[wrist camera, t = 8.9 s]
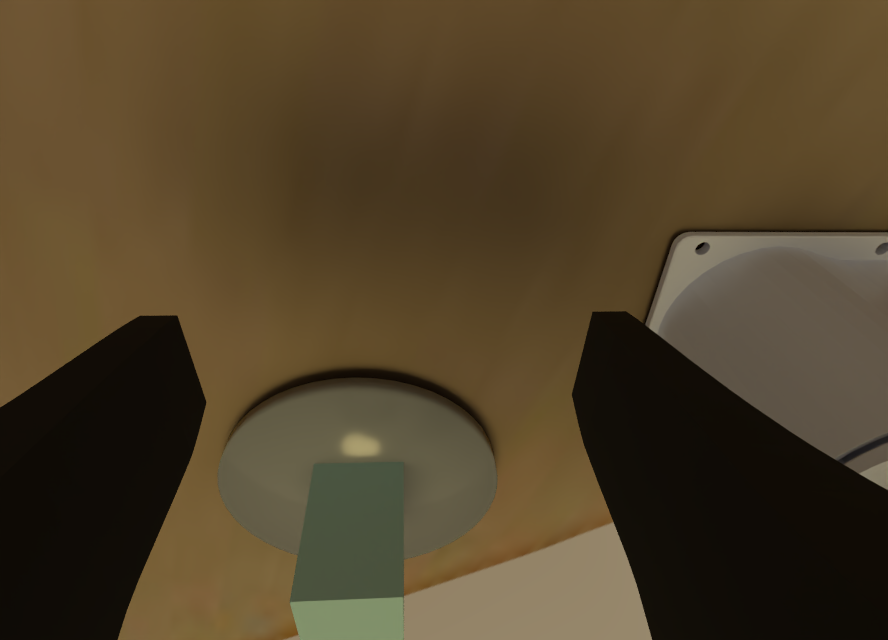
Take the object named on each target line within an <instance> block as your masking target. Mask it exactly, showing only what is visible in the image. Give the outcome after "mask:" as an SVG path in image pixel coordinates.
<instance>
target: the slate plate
mask: <svg viewBox="0 0 888 640" xmlns="http://www.w3.org/2000/svg"><path fill="white" fill-rule="evenodd" d="M366 462H404V559H408V558H412V557H416V556H419V555H423V554H426V553H429V552H431V551H434V550H436V549H439V548H441V547H443V546H445V545H447V544H449V543H451V542H453V541H455V540H456V539H458V538H459V537H461V536H463V535H464V534H465V533H467V532H468V531H469V530H470V529H472V528H473V527H474V526H475V525H476V524H477V523H478V522H479V521H480V520H481V519H482V518H483V516H484V515H485V513H486V512H487V511H488V509H489V508H490V506H491V503H492V501H493V499H494V496H495V493H496V489H497V471H496V465H495V459H494V453H493V449H492V446H491V444H490V441H489V438H488V437H487V435H486V434H485V432H484V430H483V429H482V427H481V426H480V425H479V424H478V423H477V422H476V420H475V419H474V418H473V417H472V416H471V415H469V414H468V413H467V412H466V411H465V410H463V409H462V408H461V407H460V406H458V405H456V404H455V403H453V402H452V401H450V400H448V399H447V398H445V397H442V396H440V395H438V394H436V393H434V392H432V391H429V390H426V389H423V388H420V387H418V386H415V385H411V384H407V383H402V382H398V381H393V380H385V379H377V378H355V377H353V378H338V379H329V380H323V381H317V382H311V383H308V384H304V385H301V386H297V387H293V388H291V389H288V390H286V391H283V392H281V393H278V394H276V395H274V396H273V397H271V398H269V399H267V400H265V401H263V402H262V403H260V404H259V405H258V406H256V407H255V408H254V409H252V410H251V411H249V412H248V413H247V414H246V415H245V416H244V417H243V418H242V419H241V420H240V421H239V422H238V424H237V425H236V427H235V428H234V430H233V431H232V433H231V434H230V436H229V439H228V441H227V444H226V446H225V449H224V452H223V454H222V457H221V460H220V464H219V469H218V487H219V491H220V495H221V498H222V500H223V502H224V504H225V506H226V508H227V509H228V510H229V512H230V513H231V515H232V516H233V517H234V518H235V519H236V520H237V521H238V522H239V523H240V525H241V526H242V527H244V528H245V529H246V530H248V531H249V532H250V533H251V534H253V535H254V536H256V537H257V538H259V539H261V540H262V541H264V542H266V543H268V544H270V545H272V546H274V547H276V548H278V549H281V550H284V551H286V552H289V553H291V554H295V555H298V552H299V546H300V541H301V535H302V529H303V524H304V518H305V512H306V506H307V501H308V495H309V489H310V484H311V478H312V472H313V466H314V464H323V463H366Z"/></svg>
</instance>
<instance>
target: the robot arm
mask: <svg viewBox="0 0 888 640" xmlns="http://www.w3.org/2000/svg"><path fill="white" fill-rule="evenodd" d="M703 242H705V244H704V245H703V247H701V248H700V249H698V250H695V249H696V247H697V246H698V245H699V244H700V243H703ZM879 245H880V246H879ZM878 246H879V247H878ZM877 247H878V248H877ZM572 397H573V402H574V406H575V410H576V415H577V419H578V424H579V427H580V431H581V435H582V439H583V443H584V446H585V449H586V451H587V454H588V457H589V460H590V462H591V465H592V467H593V470H594V473H595V475H596V478H597V481H598V483H599V486H600V488H601V491H602V494H603V496H604V499H605V501H606V504H607V506H608V509H609V511H610V514H611V517H612V519H613V522H614V524H615V527H616V529H617V532H618V535H619V537H620V540H621V542H622V545H623V547H624V550H625V552H626V555H627V558H628V560H629V564H630V566H631V569H632V572H633V575H634V578H635V581H636V584H637V587H638V591H639V594H640V598H641V601H642V604H643V608H644V612H645V616H646V619H647V622H648V626H649V629H650V633H651V637H652V640H888V232H686V233H683V234H681V235H679V236H678V237H677V238H676V239H675V240H674V241H673V243H672V246H671V249H670V252H669V255H668V258H667V261H666V264H665V267H664V270H663V273H662V276H661V279H660V282H659V285H658V288H657V291H656V294H655V297H654V300H653V303H652V306H651V309H650V312H649V315H648V318H647V321H646V324H645V325H644V324H643V323H642V322H640V321H639V320H638V319H636V318H635V317H633V316H632V315H630V314H629V313H627V312H626V311H623V312H592V316H591V320H590V324H589V328H588V332H587V336H586V340H585V344H584V348H583V352H582V356H581V360H580V364H579V368H578V372H577V376H576V380H575V384H574V388H573V392H572ZM205 406H206V400H205V397H204V394H203V391H202V388H201V385H200V382H199V379H198V376H197V373H196V370H195V367H194V364H193V361H192V358H191V355H190V352H189V349H188V346H187V343H186V340H185V337H184V334H183V331H182V328H181V325H180V322H179V319H178V316H139V317H137V318H135V319H134V320H132V321H130V322H129V323H127V324H125V325H124V326H122V327H120V328H119V329H117V330H116V331H114V332H113V333H111V334H110V335H108V336H107V337H105V338H104V339H102V340H101V341H99V342H98V343H96V344H95V345H93V346H92V347H90V348H89V349H87V350H86V351H84V352H83V353H81V354H80V355H79V356H77V357H76V358H74V359H73V360H71V361H70V362H68V363H67V364H65V365H64V366H62V367H61V368H59V369H58V370H56V371H55V372H53V373H52V374H50V375H49V376H48V377H46V378H45V379H43V380H42V381H40V382H39V383H37V384H36V385H34V386H33V387H31V388H30V389H28V390H27V391H25V392H24V393H22V394H21V395H19V396H18V397H16V398H15V399H13V400H12V401H10V402H8V403H7V404H5V405H4V406H2V407H0V640H117V639H118V636H119V633H120V630H121V627H122V624H123V621H124V618H125V614H126V611H127V609H128V606H129V603H130V601H131V598H132V596H133V593H134V590H135V588H136V585H137V583H138V580H139V578H140V575H141V573H142V571H143V569H144V566H145V564H146V562H147V559H148V557H149V555H150V552H151V550H152V548H153V545H154V543H155V541H156V538H157V536H158V534H159V532H160V529H161V527H162V525H163V522H164V520H165V518H166V515H167V513H168V511H169V508H170V506H171V504H172V502H173V499H174V497H175V495H176V492H177V490H178V487H179V485H180V483H181V480H182V478H183V476H184V473H185V471H186V469H187V466H188V464H189V461H190V459H191V456H192V454H193V450H194V447H195V443H196V440H197V436H198V433H199V429H200V425H201V421H202V417H203V413H204V410H205Z"/></svg>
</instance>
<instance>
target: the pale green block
mask: <svg viewBox="0 0 888 640" xmlns="http://www.w3.org/2000/svg"><path fill="white" fill-rule="evenodd" d="M290 605H291V608H292V612H293V615H294V619H295V623H296V626H297V630H298V633H299V637H300V640H404V462H366V463H323V464H314V466H313V472H312V478H311V484H310V489H309V495H308V501H307V506H306V512H305V518H304V524H303V529H302V535H301V541H300V546H299V552H298V558H297V564H296V569H295V575H294V581H293V586H292V592H291V598H290Z"/></svg>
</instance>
